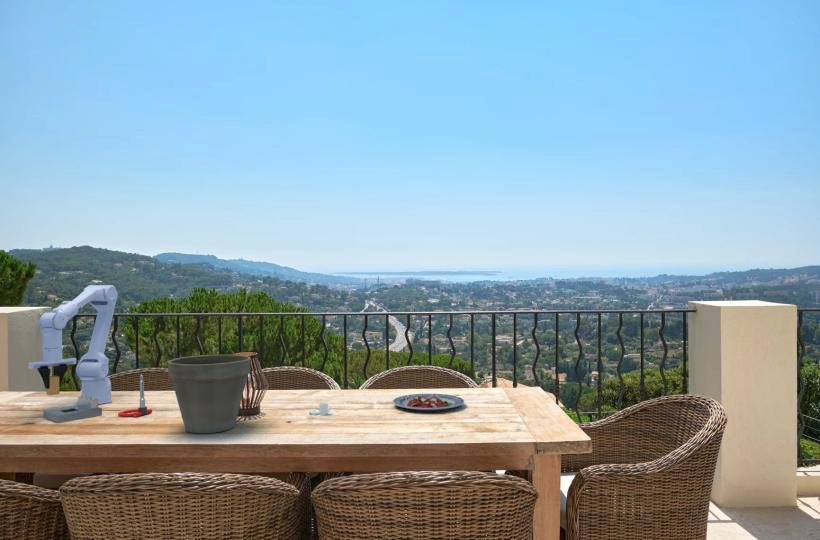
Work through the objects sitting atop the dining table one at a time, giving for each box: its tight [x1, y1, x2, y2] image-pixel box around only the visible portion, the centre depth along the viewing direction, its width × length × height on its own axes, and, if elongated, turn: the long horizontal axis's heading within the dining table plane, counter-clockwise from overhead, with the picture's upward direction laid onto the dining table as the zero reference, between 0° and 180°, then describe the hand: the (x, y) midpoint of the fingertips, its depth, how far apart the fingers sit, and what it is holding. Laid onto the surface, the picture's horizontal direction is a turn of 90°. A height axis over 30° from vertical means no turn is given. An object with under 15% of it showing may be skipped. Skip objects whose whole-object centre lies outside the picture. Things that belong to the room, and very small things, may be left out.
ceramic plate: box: [392, 393, 465, 412], centre depth 225 cm, size 26×26×3 cm
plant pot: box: [167, 354, 252, 434], centre depth 195 cm, size 25×25×22 cm
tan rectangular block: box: [45, 375, 60, 396], centre depth 213 cm, size 3×3×6 cm
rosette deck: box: [42, 394, 103, 424], centre depth 211 cm, size 14×12×6 cm
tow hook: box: [117, 374, 153, 418], centre depth 214 cm, size 9×14×10 cm
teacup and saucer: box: [308, 402, 336, 418], centre depth 213 cm, size 9×8×4 cm
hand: (52, 387), depth 213 cm, fingers closed on tan rectangular block, 3 cm apart
